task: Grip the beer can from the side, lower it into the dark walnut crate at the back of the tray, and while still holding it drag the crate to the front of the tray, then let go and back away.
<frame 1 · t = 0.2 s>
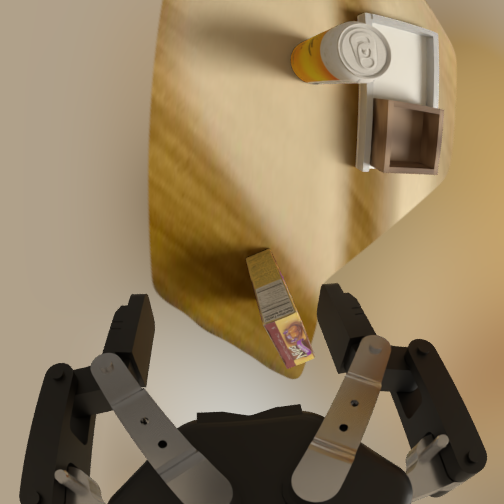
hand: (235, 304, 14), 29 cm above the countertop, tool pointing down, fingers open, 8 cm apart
beer can: (311, 62, 34), on the countertop
candy box: (267, 273, 48), on the countertop
tray: (396, 95, 37), on the countertop
crate: (406, 136, 37), point 3 cm above the countertop, slide at 11.0 cm
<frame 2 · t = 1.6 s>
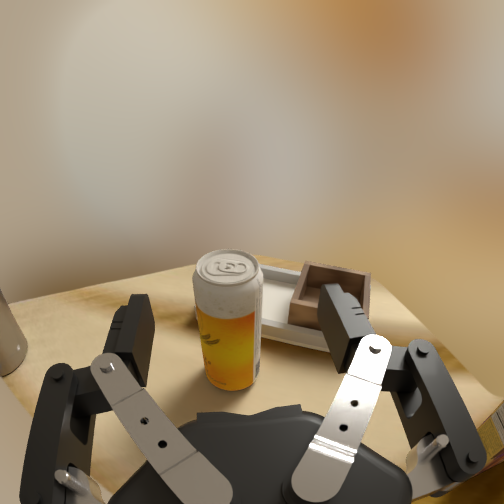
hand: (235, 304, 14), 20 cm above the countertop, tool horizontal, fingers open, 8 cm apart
beer can: (232, 374, 34), on the countertop
candy box: (480, 456, 21), on the countertop
tray: (288, 309, 44), on the countertop
crate: (331, 300, 40), point 3 cm above the countertop, slide at 11.0 cm
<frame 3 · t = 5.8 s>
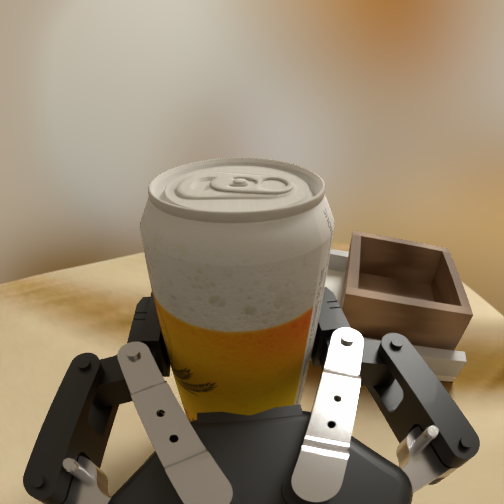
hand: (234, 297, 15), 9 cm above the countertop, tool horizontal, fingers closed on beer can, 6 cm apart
beer can: (242, 428, 17), on the countertop, touching gripper
tray: (328, 308, 27), on the countertop
crate: (400, 290, 23), point 3 cm above the countertop, slide at 11.0 cm
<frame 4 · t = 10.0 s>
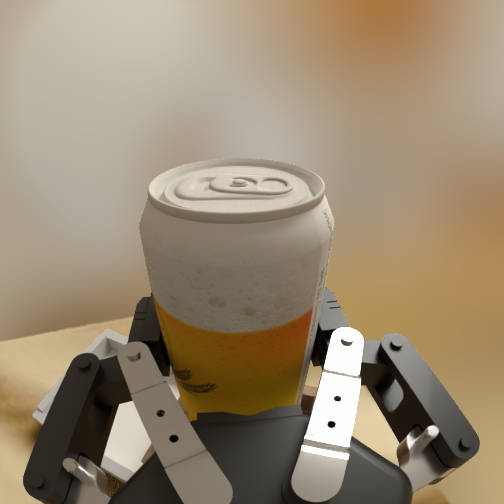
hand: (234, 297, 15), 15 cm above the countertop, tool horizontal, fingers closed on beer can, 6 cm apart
beer can: (242, 428, 17), point 6 cm above the countertop, touching gripper
tray: (176, 433, 22), on the countertop
crate: (241, 442, 19), point 3 cm above the countertop, slide at 11.0 cm
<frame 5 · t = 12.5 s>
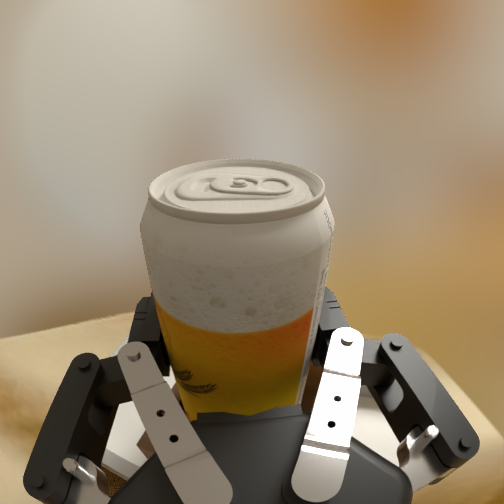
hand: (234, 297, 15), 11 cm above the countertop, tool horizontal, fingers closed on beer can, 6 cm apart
beer can: (243, 429, 17), point 2 cm above the countertop, touching crate, gripper
tray: (248, 440, 18), on the countertop
crate: (258, 422, 16), point 3 cm above the countertop, slide at 5.9 cm, touching beer can
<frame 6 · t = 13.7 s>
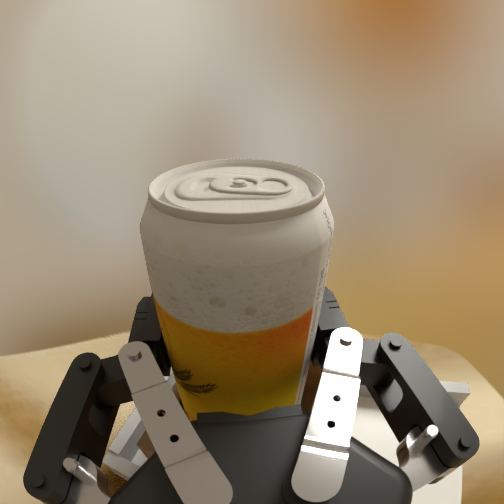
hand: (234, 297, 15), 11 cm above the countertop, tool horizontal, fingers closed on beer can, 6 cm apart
beer can: (242, 429, 17), point 2 cm above the countertop, touching crate, gripper
tray: (310, 455, 17), on the countertop
crate: (258, 422, 16), point 3 cm above the countertop, slide at 1.6 cm, touching beer can
when the fingers open (11 cm above the countertop, at t = 14.1 s): beer can stays where it is, resting on crate.
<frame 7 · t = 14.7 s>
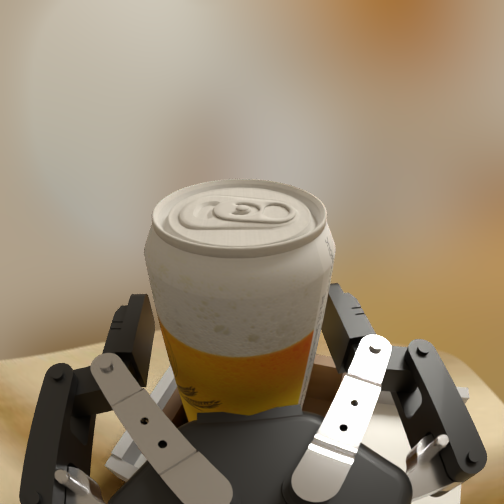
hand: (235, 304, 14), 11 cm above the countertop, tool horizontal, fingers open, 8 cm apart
beer can: (244, 436, 17), point 2 cm above the countertop, touching crate
tray: (310, 459, 17), on the countertop
crate: (258, 426, 16), point 3 cm above the countertop, slide at 1.6 cm, touching beer can
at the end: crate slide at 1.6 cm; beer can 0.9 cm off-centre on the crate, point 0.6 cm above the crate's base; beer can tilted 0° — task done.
